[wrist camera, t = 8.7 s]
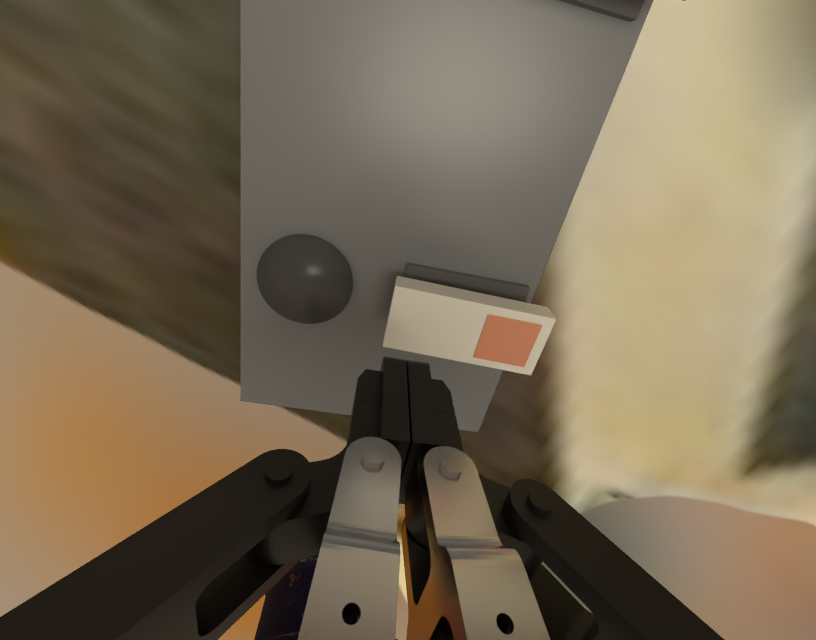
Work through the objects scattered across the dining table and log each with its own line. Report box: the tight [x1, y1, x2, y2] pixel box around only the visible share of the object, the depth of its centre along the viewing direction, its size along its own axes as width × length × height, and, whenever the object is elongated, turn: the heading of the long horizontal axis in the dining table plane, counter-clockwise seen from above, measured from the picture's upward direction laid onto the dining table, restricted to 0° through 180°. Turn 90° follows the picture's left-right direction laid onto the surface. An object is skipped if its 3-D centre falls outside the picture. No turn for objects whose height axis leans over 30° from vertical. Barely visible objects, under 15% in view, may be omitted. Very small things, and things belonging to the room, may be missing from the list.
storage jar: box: [254, 554, 319, 640], centre depth 26 cm, size 10×10×15 cm
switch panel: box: [241, 0, 653, 432], centre depth 16 cm, size 14×30×4 cm, turn 168°
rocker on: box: [383, 276, 556, 375], centre depth 17 cm, size 7×3×1 cm, turn 78°
